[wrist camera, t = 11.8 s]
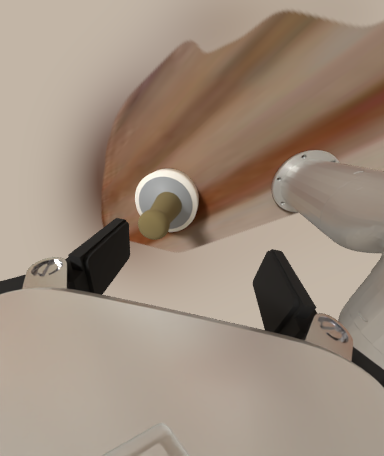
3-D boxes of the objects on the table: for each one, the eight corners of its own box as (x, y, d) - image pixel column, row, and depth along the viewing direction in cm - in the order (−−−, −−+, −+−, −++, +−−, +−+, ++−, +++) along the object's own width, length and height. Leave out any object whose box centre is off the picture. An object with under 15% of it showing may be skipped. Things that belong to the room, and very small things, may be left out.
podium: (204, 174, 35) (202, 178, 31) (193, 228, 42) (191, 237, 38) (143, 162, 36) (133, 165, 32) (142, 218, 43) (135, 226, 39)
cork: (186, 199, 34) (175, 222, 24) (175, 222, 37) (161, 250, 27) (160, 186, 33) (137, 204, 23) (151, 210, 36) (128, 235, 26)
